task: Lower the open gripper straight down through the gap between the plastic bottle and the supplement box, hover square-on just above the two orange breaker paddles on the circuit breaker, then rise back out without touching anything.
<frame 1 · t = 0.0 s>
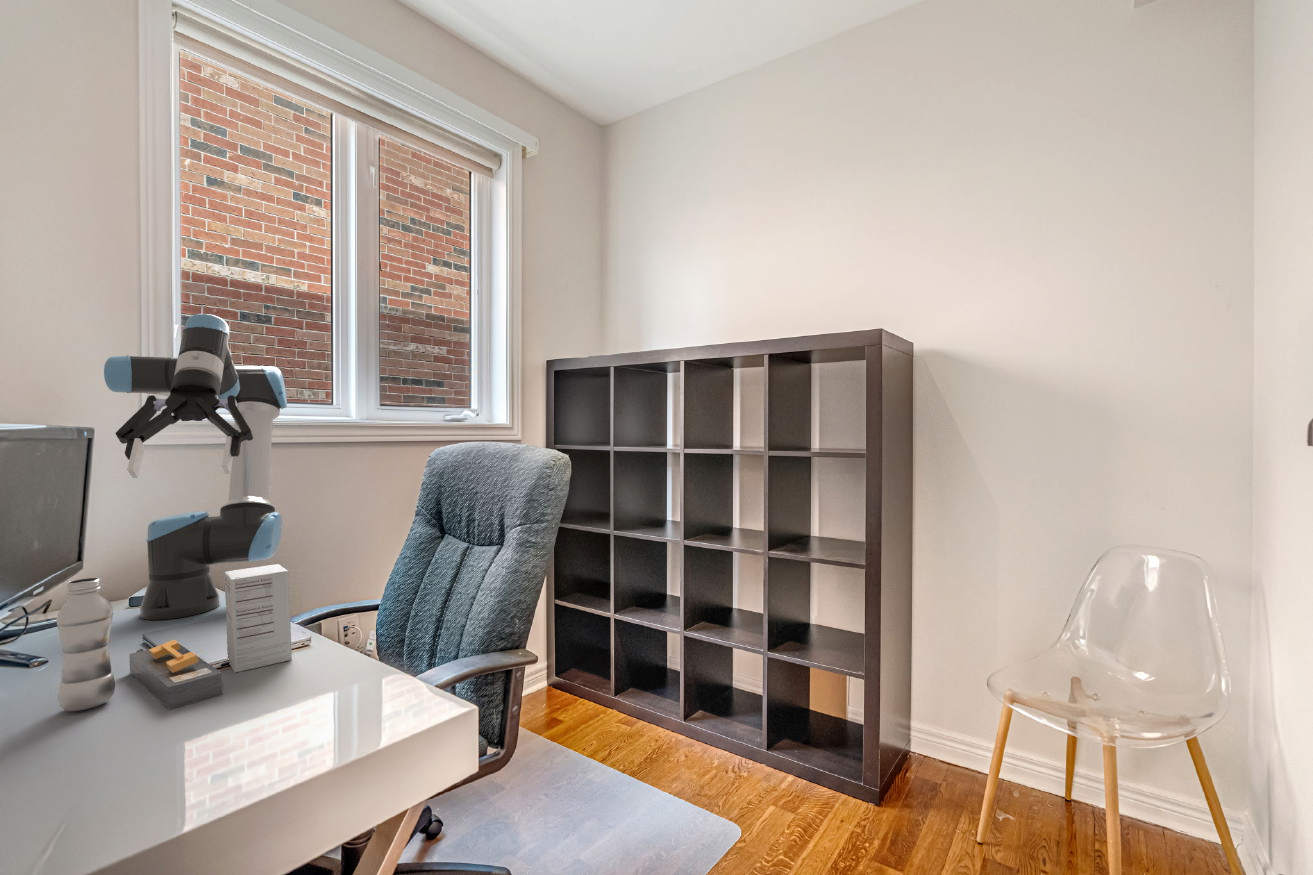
hand: (180, 471, 109), 36 cm above the table, tool tilted 35°, fingers open, 13 cm apart
breaker paddles: (172, 654, 106), point 5 cm above the table, hinge at 12.0°
supplement box: (259, 660, 116), on the table
circuit breaker: (174, 683, 106), on the table
plastic bottle: (88, 708, 97), on the table
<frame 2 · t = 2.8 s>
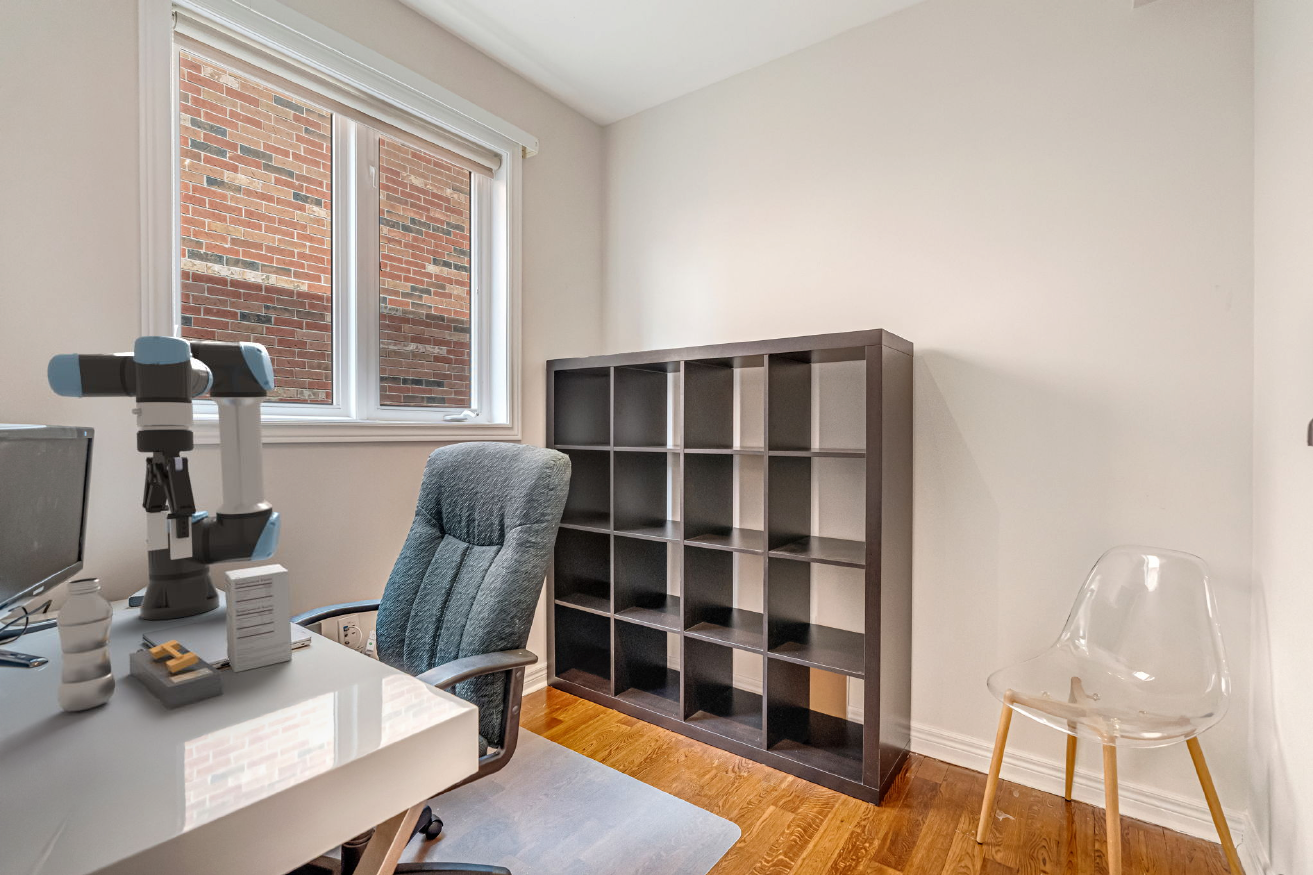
hand: (169, 553, 105), 22 cm above the table, tool pointing down, fingers open, 13 cm apart
nothing on the table moved.
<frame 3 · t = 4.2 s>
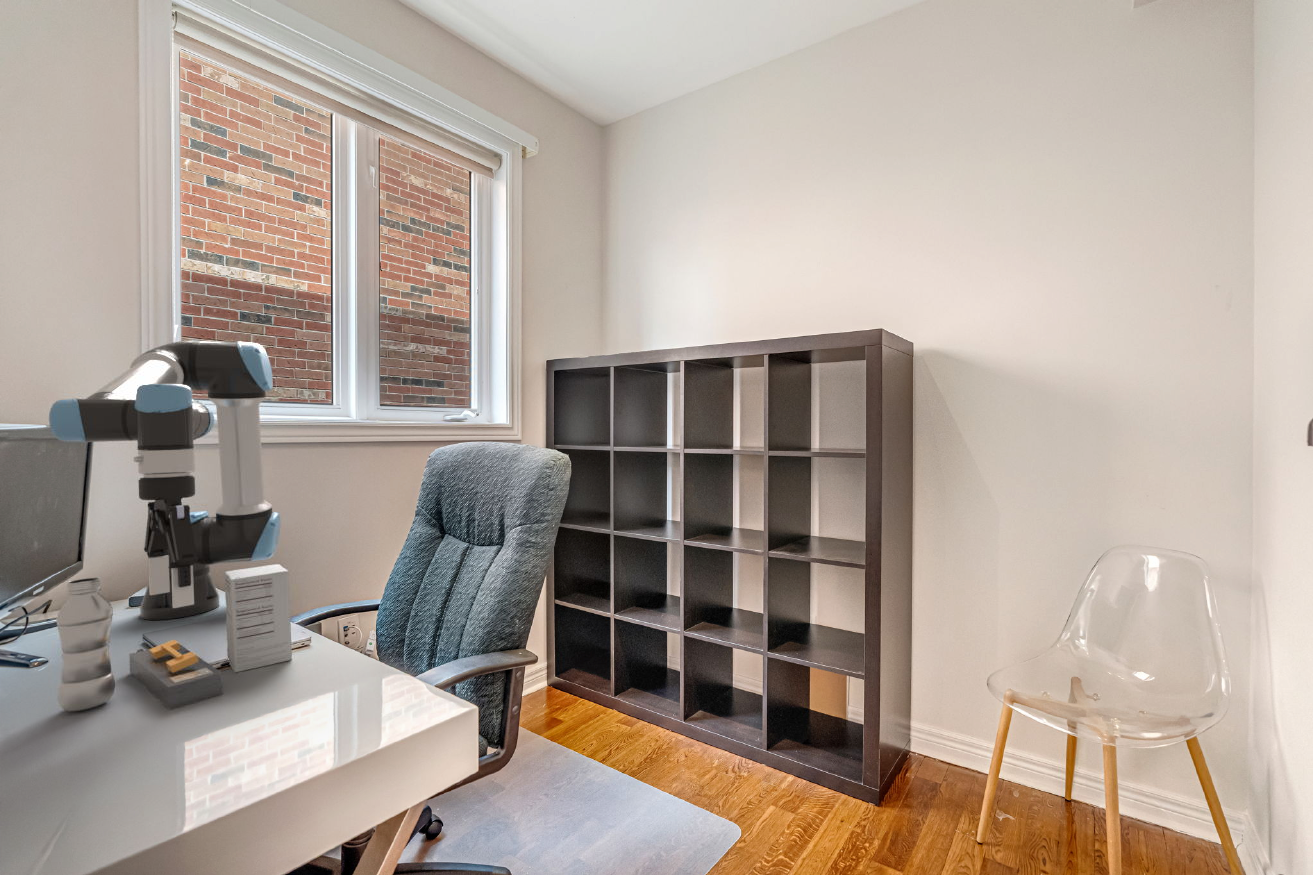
hand: (171, 599, 105), 14 cm above the table, tool pointing down, fingers open, 13 cm apart
nothing on the table moved.
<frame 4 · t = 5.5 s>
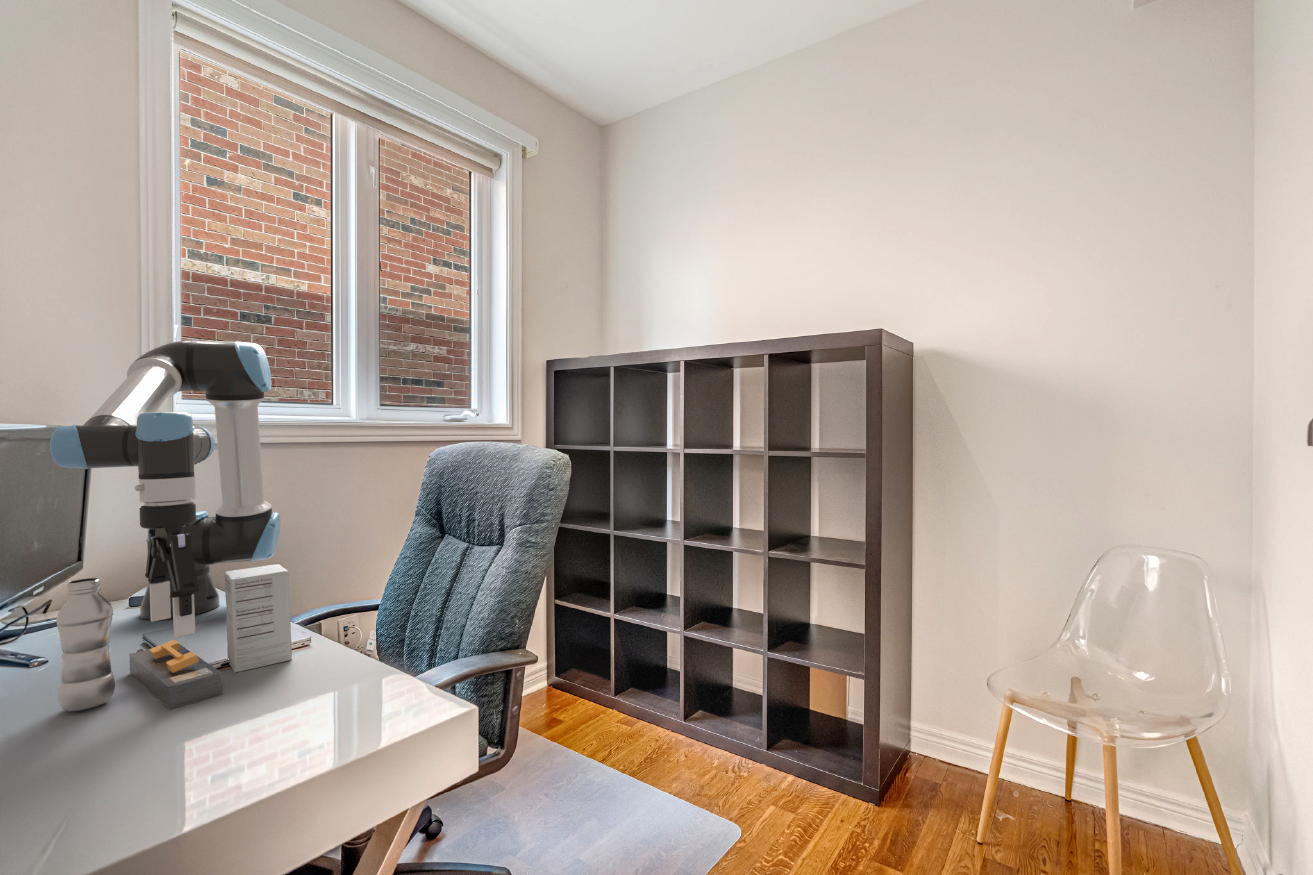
hand: (172, 626, 105), 10 cm above the table, tool pointing down, fingers open, 13 cm apart
nothing on the table moved.
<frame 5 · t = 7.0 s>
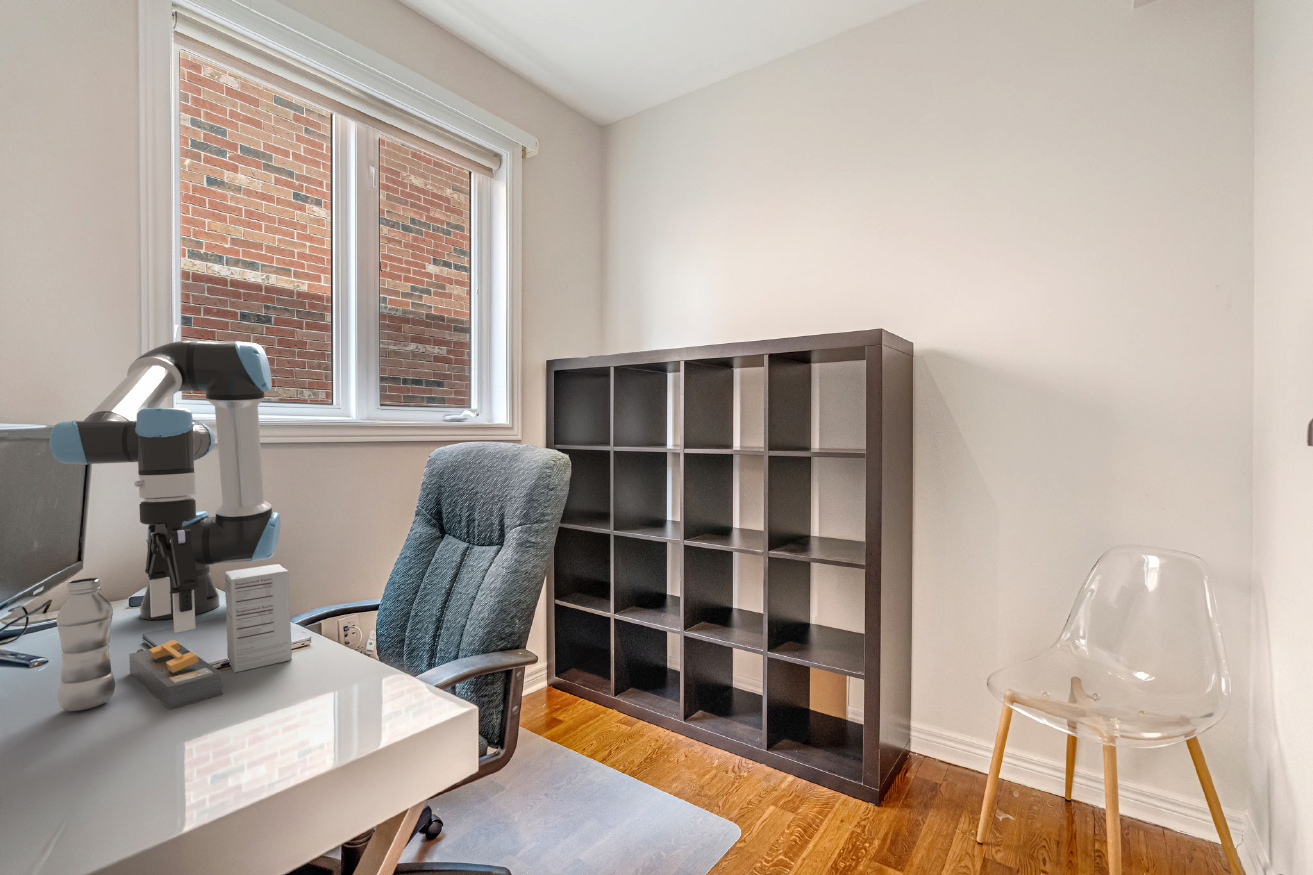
hand: (172, 622, 106), 10 cm above the table, tool pointing down, fingers open, 13 cm apart
nothing on the table moved.
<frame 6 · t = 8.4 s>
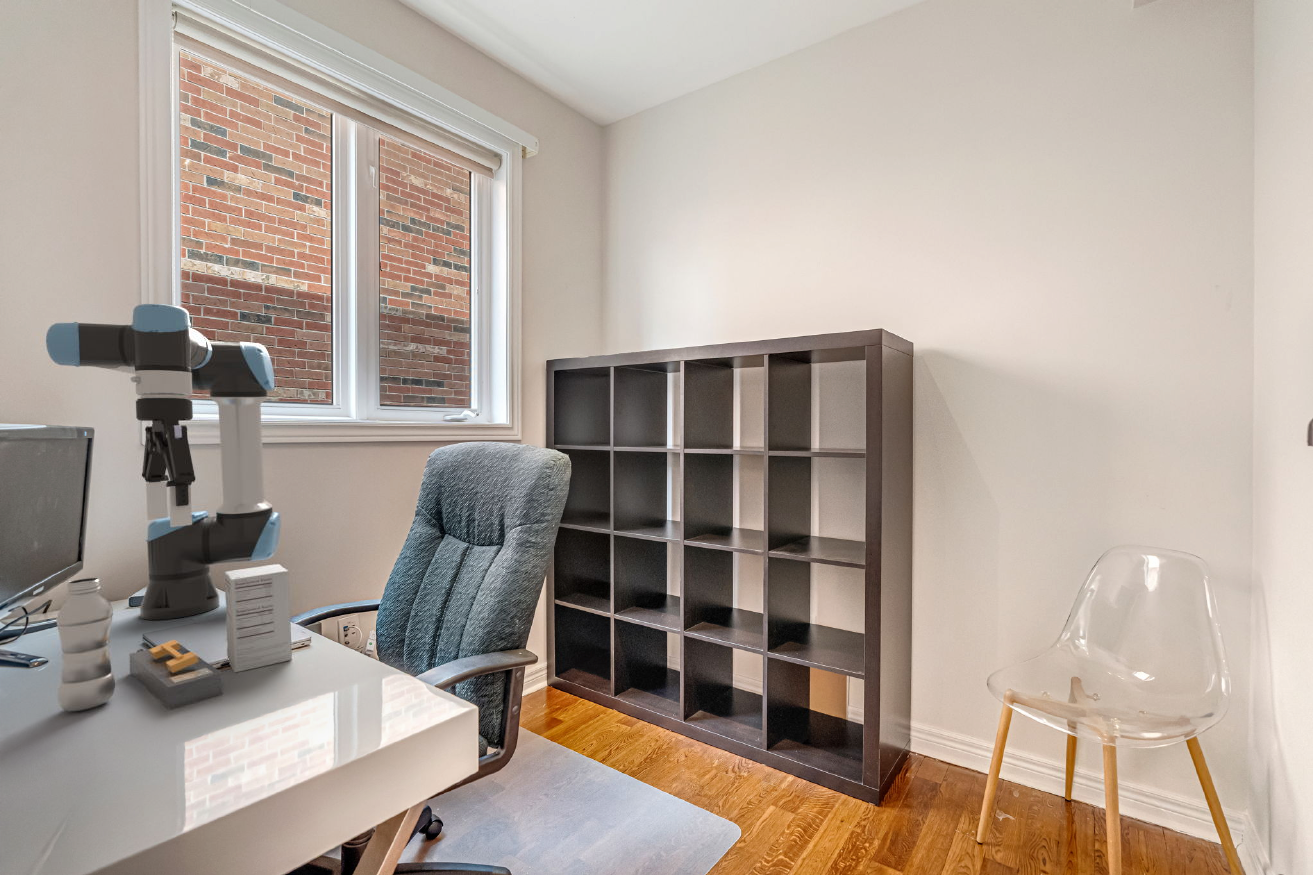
hand: (169, 522, 105), 28 cm above the table, tool pointing down, fingers open, 13 cm apart
nothing on the table moved.
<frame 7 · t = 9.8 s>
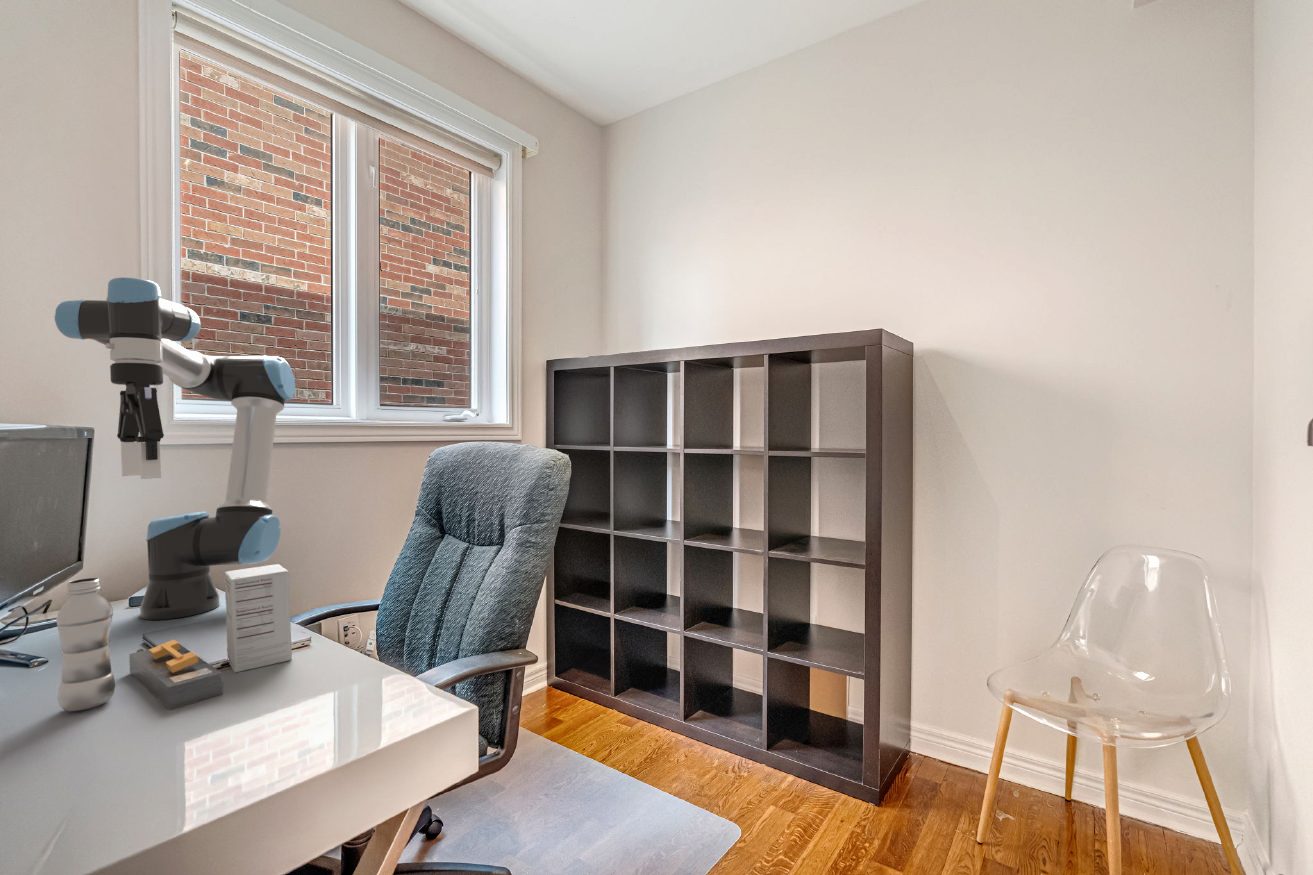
hand: (140, 477, 115), 35 cm above the table, tool pointing down, fingers open, 13 cm apart
nothing on the table moved.
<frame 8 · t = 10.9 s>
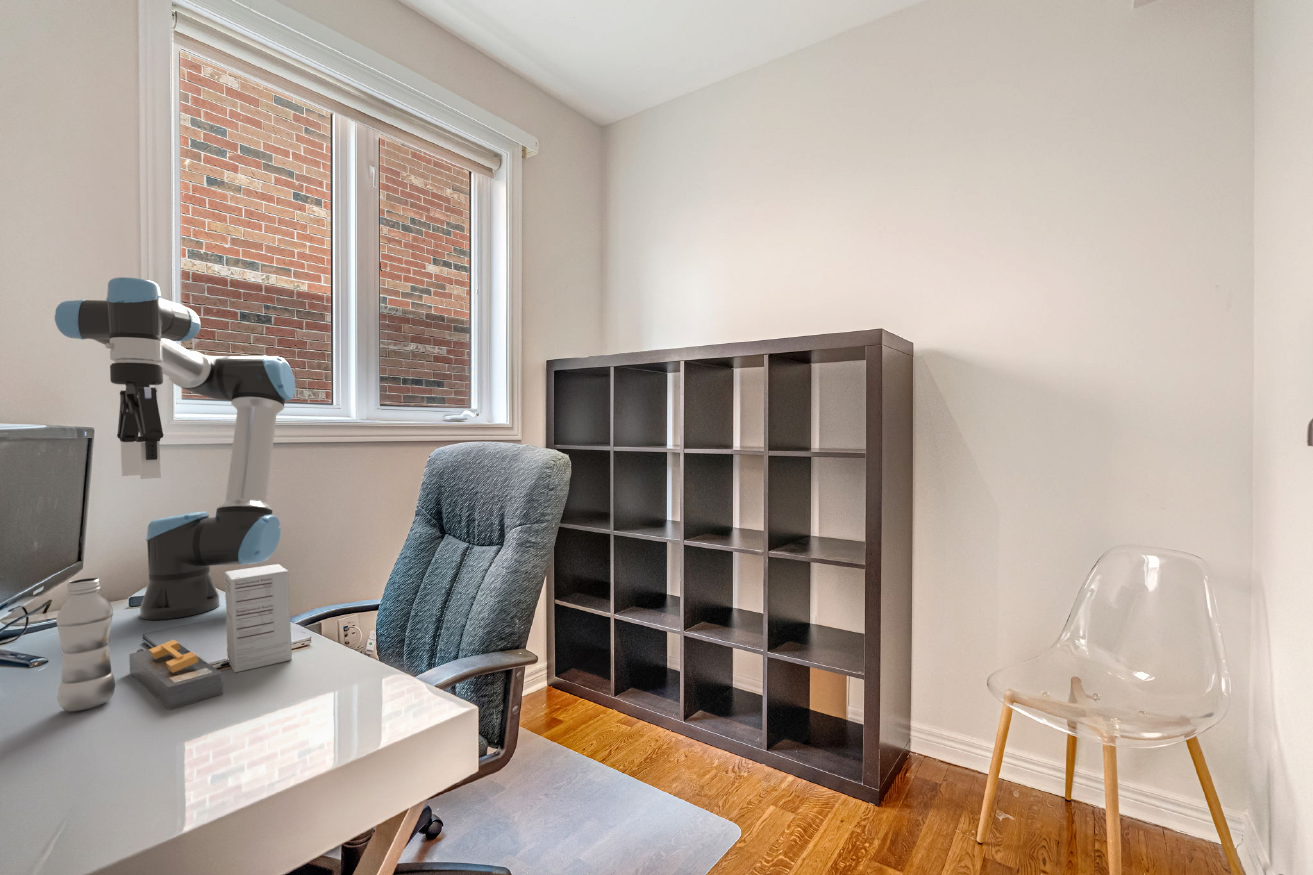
hand: (140, 477, 115), 35 cm above the table, tool pointing down, fingers open, 13 cm apart
nothing on the table moved.
at the end: plastic bottle moved 0.2 cm from its start; supplement box moved 0.2 cm from its start; breaker paddles at +12° (first picture: +12°) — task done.
